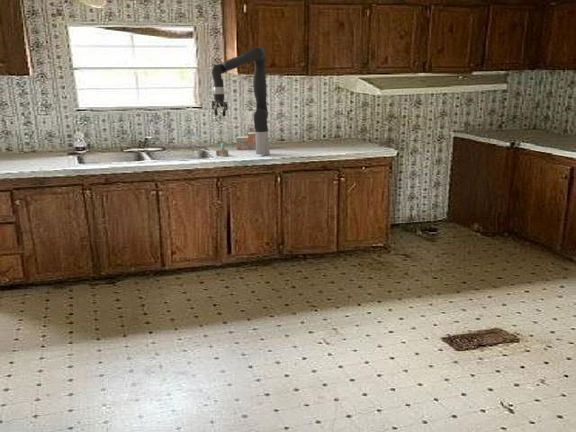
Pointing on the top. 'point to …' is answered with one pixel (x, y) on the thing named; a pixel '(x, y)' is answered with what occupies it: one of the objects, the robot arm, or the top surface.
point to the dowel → (222, 146)
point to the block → (223, 153)
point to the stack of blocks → (247, 142)
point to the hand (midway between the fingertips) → (220, 115)
